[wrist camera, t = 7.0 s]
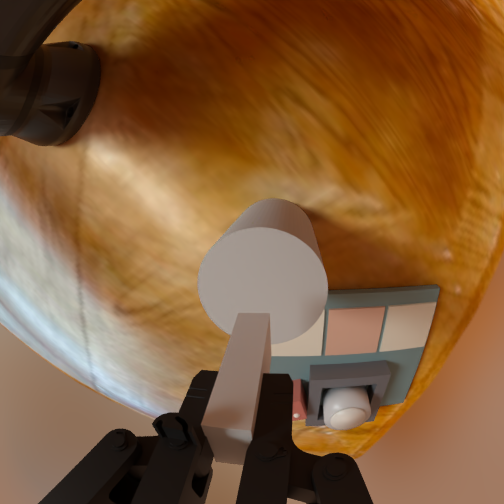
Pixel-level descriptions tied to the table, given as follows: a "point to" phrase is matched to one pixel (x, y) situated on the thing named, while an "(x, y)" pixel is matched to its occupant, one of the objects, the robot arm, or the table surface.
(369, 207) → the table surface
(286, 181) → the table surface
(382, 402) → the board
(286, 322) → the white cylinder
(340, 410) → the dome
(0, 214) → the table surface
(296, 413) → the die
